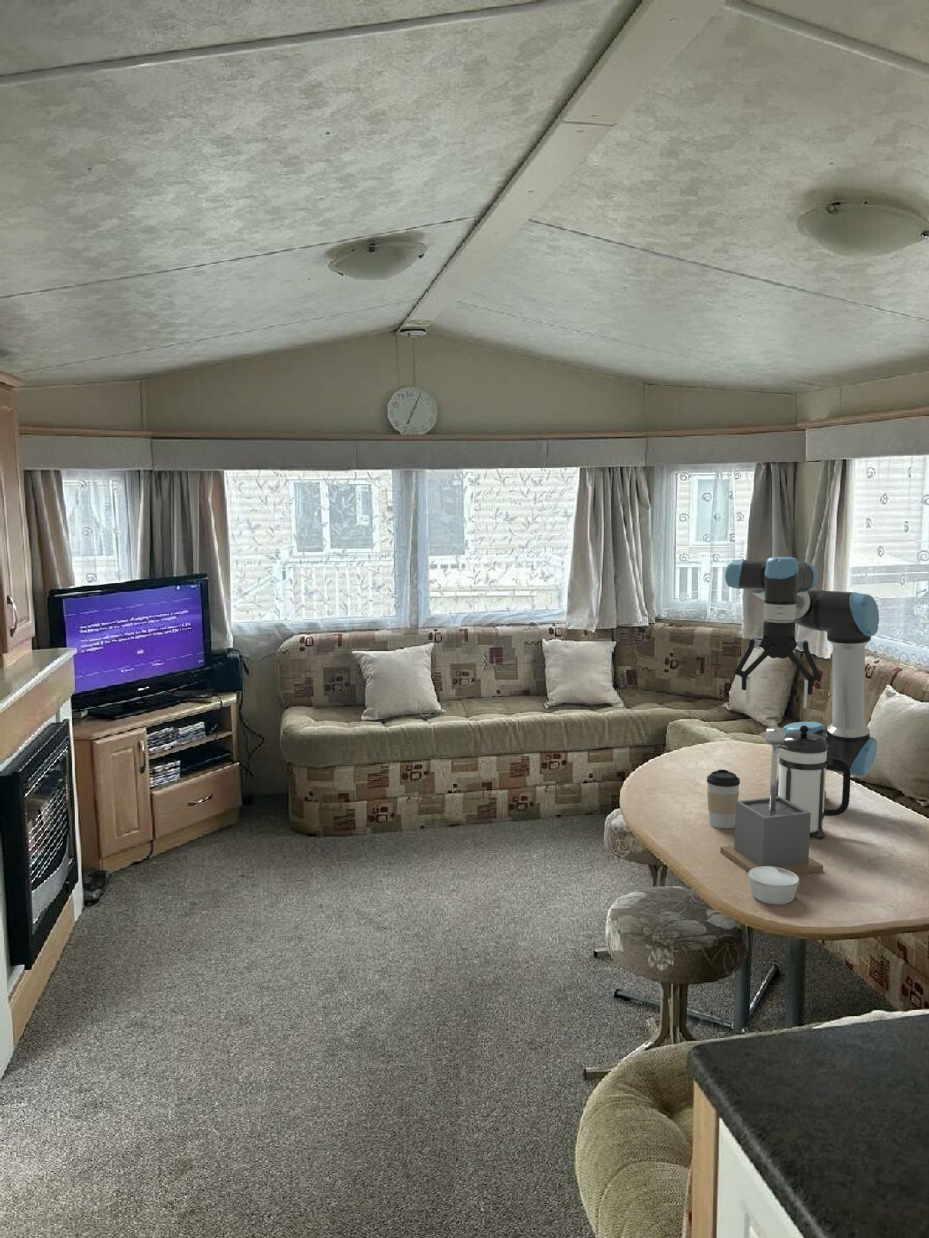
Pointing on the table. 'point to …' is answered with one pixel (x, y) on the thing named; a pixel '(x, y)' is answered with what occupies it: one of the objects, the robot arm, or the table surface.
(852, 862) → the table surface
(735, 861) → the square grey bin
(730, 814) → the coffee cup
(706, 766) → the table surface
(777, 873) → the ramekin
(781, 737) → the plunger
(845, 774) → the coffee press
